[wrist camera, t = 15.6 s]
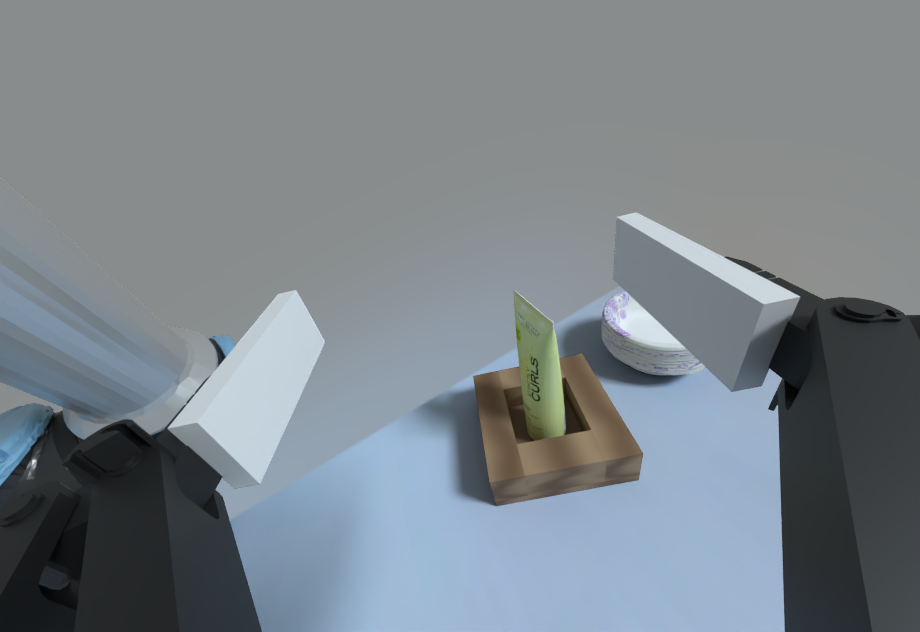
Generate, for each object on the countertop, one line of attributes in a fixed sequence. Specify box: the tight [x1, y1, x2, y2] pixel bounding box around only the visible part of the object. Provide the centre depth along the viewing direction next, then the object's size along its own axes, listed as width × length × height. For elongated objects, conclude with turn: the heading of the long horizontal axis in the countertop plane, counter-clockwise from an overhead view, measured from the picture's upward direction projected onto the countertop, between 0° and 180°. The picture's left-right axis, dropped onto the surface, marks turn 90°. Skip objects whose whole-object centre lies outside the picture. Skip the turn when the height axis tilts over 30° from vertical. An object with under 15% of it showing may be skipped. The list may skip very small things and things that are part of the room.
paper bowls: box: [602, 291, 706, 375], centre depth 48 cm, size 15×15×8 cm
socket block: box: [473, 354, 643, 506], centre depth 41 cm, size 16×16×5 cm
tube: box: [514, 290, 566, 441], centre depth 37 cm, size 6×5×20 cm
